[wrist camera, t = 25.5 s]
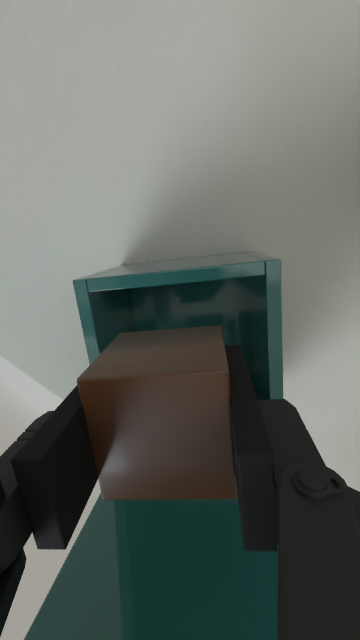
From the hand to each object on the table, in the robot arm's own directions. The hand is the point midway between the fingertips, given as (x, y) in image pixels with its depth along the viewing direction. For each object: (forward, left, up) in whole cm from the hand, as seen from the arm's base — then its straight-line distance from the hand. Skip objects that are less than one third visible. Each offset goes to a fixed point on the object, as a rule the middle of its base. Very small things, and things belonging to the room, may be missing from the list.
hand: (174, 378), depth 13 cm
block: (0, 0, 0) cm, 0 cm away
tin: (+2, -1, -14) cm, 14 cm away
